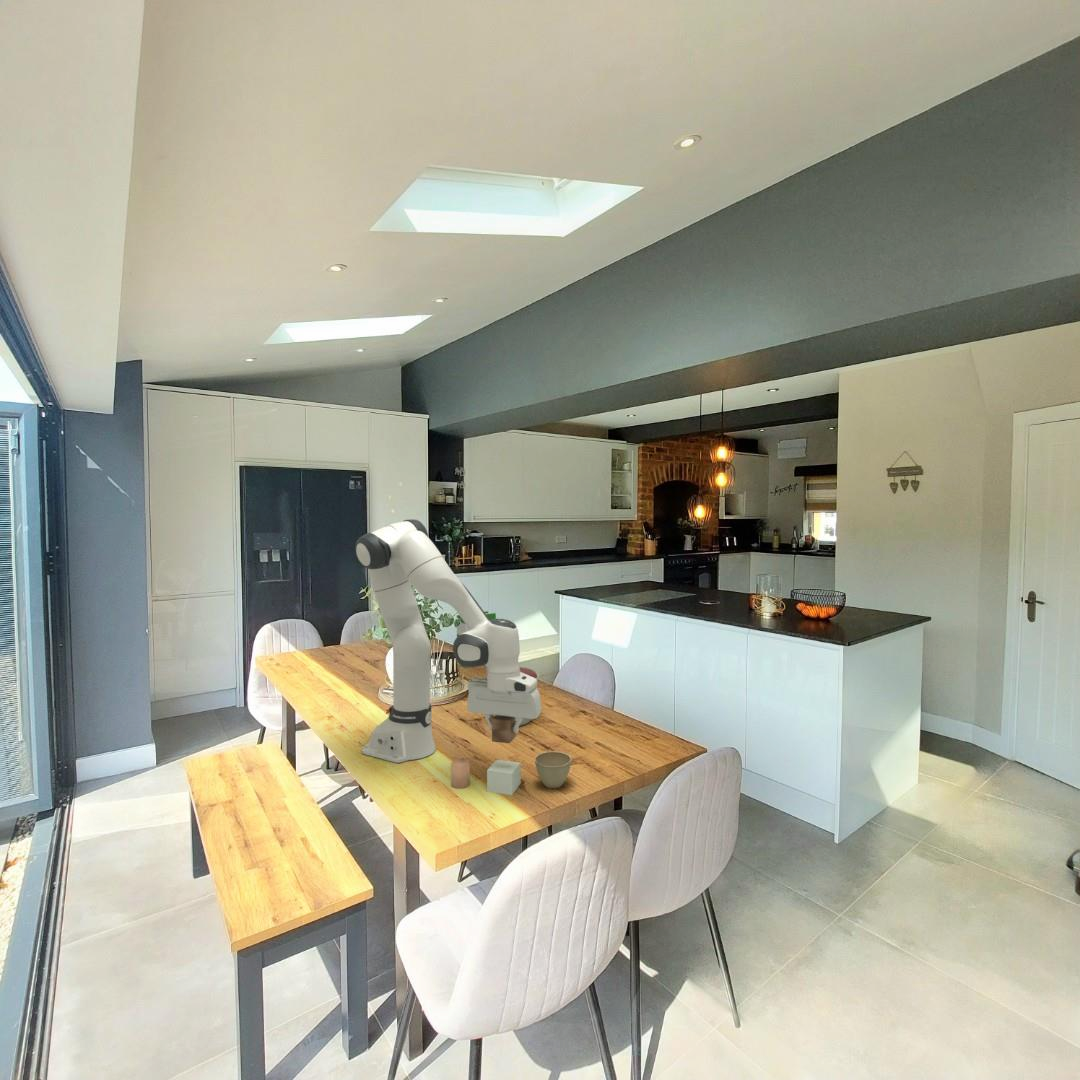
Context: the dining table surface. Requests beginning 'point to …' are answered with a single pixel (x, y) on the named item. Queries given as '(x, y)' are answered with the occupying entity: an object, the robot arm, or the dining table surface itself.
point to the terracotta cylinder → (460, 774)
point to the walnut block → (503, 729)
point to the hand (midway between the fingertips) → (504, 730)
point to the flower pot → (553, 768)
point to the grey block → (503, 777)
